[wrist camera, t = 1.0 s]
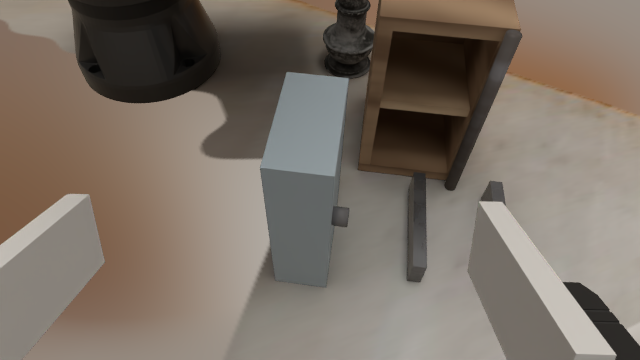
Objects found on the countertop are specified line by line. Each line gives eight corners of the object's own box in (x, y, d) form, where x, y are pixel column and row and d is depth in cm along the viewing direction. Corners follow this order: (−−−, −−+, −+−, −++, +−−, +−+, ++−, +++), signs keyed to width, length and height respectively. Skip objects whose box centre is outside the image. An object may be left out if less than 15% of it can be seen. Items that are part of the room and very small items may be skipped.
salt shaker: (314, 54, 52) (315, -50, 43) (359, 43, 54) (370, -60, 44) (334, 85, 49) (341, -20, 39) (382, 72, 50) (399, -32, 41)
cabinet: (455, 190, 40) (523, 39, 28) (357, 179, 41) (378, 25, 28) (450, 107, 47) (502, -46, 34) (365, 98, 48) (386, -56, 35)
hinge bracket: (504, 293, 35) (516, 279, 33) (407, 280, 35) (413, 266, 33) (492, 199, 40) (502, 182, 38) (408, 189, 40) (413, 172, 38)
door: (338, 289, 34) (353, 178, 23) (275, 280, 35) (260, 167, 24) (348, 204, 39) (364, 79, 28) (292, 197, 40) (286, 71, 29)
